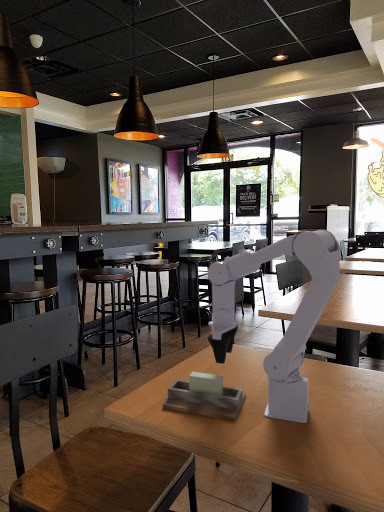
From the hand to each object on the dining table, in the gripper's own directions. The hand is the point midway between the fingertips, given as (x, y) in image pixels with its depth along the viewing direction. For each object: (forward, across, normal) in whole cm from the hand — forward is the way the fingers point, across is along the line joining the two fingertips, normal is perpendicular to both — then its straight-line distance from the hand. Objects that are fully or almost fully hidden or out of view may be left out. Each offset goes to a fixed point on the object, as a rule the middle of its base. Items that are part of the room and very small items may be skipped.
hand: (224, 357), depth 98 cm
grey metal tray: (+9, +7, -3) cm, 12 cm away
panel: (+8, +7, -3) cm, 11 cm away
